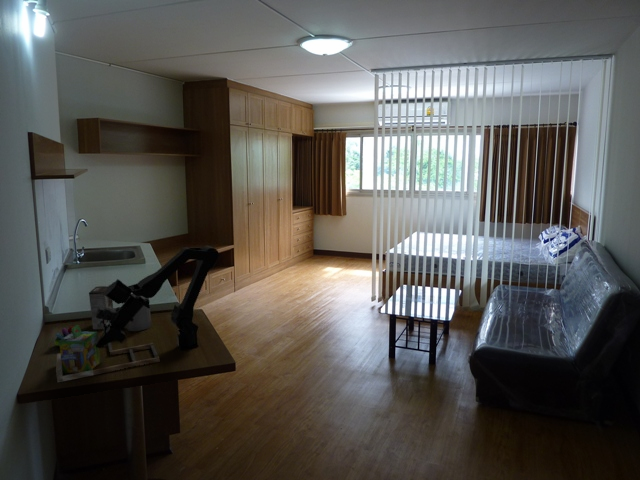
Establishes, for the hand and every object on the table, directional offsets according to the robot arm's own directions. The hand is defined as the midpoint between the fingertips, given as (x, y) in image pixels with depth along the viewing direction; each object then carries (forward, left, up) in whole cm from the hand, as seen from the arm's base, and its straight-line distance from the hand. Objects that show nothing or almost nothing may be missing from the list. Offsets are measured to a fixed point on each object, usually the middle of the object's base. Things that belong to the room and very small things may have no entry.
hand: (97, 347), depth 163 cm
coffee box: (-4, -42, -7) cm, 43 cm away
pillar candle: (-17, -32, -7) cm, 37 cm away
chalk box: (+5, 0, -7) cm, 9 cm away
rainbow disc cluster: (+9, -25, -7) cm, 28 cm away
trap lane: (-3, -5, -7) cm, 9 cm away
